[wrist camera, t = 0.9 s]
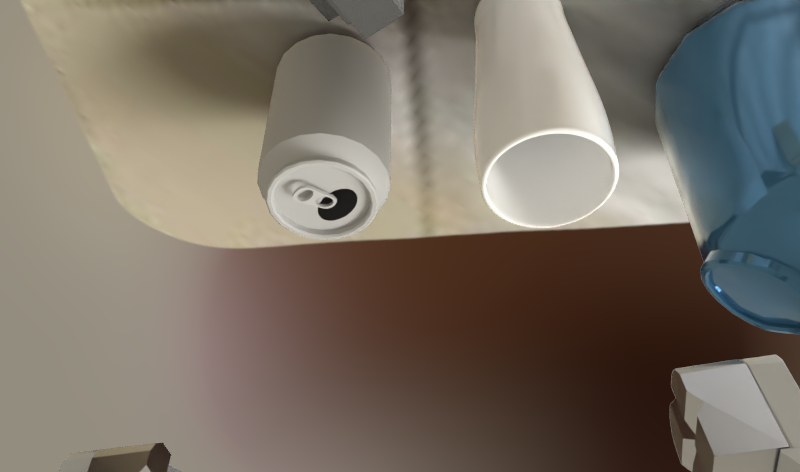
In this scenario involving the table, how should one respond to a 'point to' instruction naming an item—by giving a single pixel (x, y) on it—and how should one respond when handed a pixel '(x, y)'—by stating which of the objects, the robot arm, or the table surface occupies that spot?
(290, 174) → the can
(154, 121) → the table surface
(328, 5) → the ridge
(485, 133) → the cream cylinder
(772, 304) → the blue rounded container
